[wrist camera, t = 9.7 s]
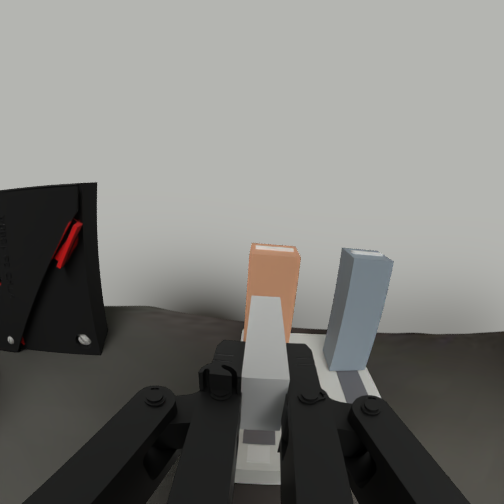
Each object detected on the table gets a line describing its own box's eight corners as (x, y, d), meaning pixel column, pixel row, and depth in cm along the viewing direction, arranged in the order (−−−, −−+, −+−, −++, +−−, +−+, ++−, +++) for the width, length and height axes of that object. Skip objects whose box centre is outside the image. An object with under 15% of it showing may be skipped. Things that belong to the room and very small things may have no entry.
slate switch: (364, 369, 25) (394, 259, 22) (329, 370, 25) (354, 255, 22) (354, 350, 29) (377, 249, 26) (322, 350, 29) (342, 245, 26)
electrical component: (110, 323, 35) (101, 182, 30) (98, 364, 26) (77, 183, 21) (17, 318, 30) (0, 190, 25) (-10, 351, 20) (-40, 196, 15)
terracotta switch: (282, 378, 24) (301, 255, 21) (240, 375, 24) (249, 251, 21) (280, 355, 28) (295, 244, 25) (243, 352, 28) (252, 240, 25)
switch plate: (394, 471, 14) (407, 454, 13) (221, 481, 14) (220, 466, 14) (345, 350, 33) (350, 334, 33) (241, 345, 34) (242, 328, 33)
